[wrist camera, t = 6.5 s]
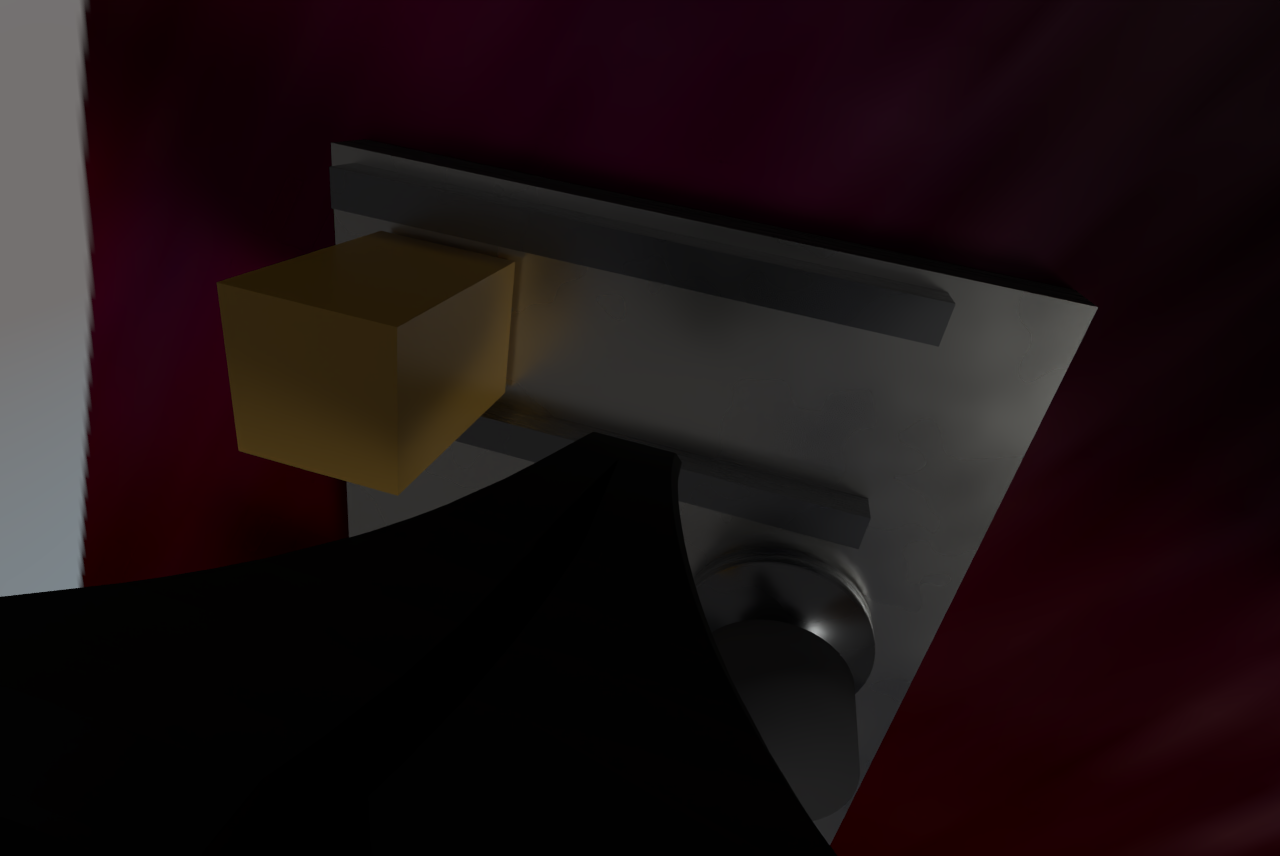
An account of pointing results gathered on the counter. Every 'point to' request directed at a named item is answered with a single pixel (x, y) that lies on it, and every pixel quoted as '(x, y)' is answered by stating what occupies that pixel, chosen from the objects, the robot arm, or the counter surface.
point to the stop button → (798, 707)
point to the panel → (745, 393)
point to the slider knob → (366, 355)
